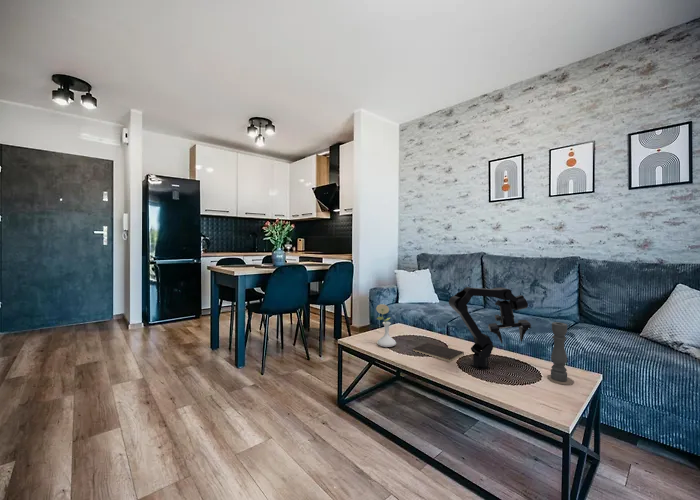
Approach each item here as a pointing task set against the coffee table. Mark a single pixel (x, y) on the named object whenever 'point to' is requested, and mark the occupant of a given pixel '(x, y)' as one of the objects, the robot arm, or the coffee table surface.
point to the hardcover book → (438, 351)
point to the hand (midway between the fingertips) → (511, 342)
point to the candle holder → (559, 352)
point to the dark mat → (568, 382)
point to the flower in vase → (386, 339)
